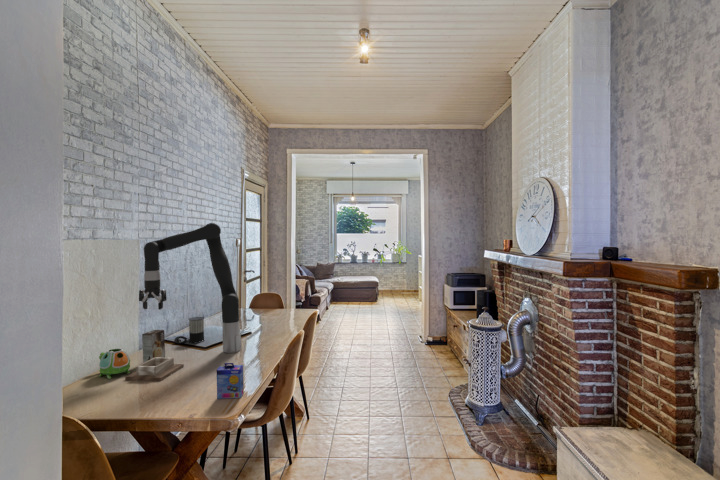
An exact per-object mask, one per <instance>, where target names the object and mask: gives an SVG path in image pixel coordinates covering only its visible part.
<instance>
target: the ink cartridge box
mask: <svg viewBox="0 0 720 480" xmlns="http://www.w3.org/2000/svg"><path fill="white" fill-rule="evenodd" d="M244 384H245V383H244V365H242V364H234V362H225V363H224V365H219V367H217V369H216V399H217V400H220V399H221V400H222V399H223V400H225V399H241V398H242V397H243V394H244V393H245V390H244V387H245V386H244Z"/></svg>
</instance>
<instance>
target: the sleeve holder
mask: <svg viewBox="0 0 720 480" xmlns="http://www.w3.org/2000/svg"><path fill="white" fill-rule="evenodd" d="M174 360H175V358H174V357H165V358H164V357H154V358H152V359H150V360H148V361H146V362H144V363H143V362H142V363H141V364H139V365H136V366H135V371H134V372H132V373H131V372H130V373H129V374H128V375H126V376H125V377H124V379H125V381H147V380H150V381H152V382H158V381H159V382H162V381H164V380H165V379H167V378H168V377H170V376H171V374H172V375H173V374H175V373H176V372H177V371H180V370H181V369H183V368H184V365H185V364H184V363H175V361H174ZM166 377H167V378H166ZM150 381H149V382H150Z"/></svg>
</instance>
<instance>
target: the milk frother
mask: <svg viewBox="0 0 720 480" xmlns="http://www.w3.org/2000/svg"><path fill="white" fill-rule="evenodd" d="M204 318H205V317H204V316H193V317H190V318H188V326H189V327H188V328H189V333H188V334H189V337H188V338H187V337H186V336H181V335H180V336H176V337H175V338H174V340H173V341H174V343H175V344H180V345H181V343H182V344H185V343H186V342H187V340H188V342H189V343H190V342H199V341H202V340H204V339H205V319H204ZM182 339H183V341H182ZM204 341H205V340H204ZM184 342H185V343H184ZM199 343H200V342H199Z"/></svg>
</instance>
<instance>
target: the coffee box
mask: <svg viewBox="0 0 720 480" xmlns="http://www.w3.org/2000/svg"><path fill="white" fill-rule="evenodd" d="M141 338H142V340H141V341H142V363H144V362H146V361H148V360H150V359H152V358H154V357H164V358H166V348H165V347H166V344H165V341H166V340H165V330H164V329H152V330H150V331H148V332H143V333H142V334H141Z"/></svg>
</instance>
